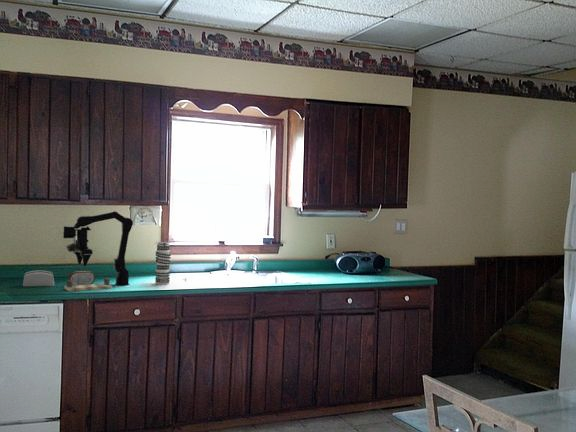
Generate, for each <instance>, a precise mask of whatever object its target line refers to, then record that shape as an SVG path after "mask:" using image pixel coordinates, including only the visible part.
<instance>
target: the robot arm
mask: <svg viewBox="0 0 576 432" xmlns="http://www.w3.org/2000/svg"><path fill="white" fill-rule="evenodd" d="M113 219H115V220H117V221H118V222H120V223H121V237H120V240H119V241H120V243H119V247H118V251H117V252H118V254H117V257H116V258H113V264H112V266H113V269H114V270H115V271H116V272H117V273H116V276H115V285H117V286H129V285H130V283H129V277H130V276H129V275H130V274H129V273H130V272H129V270H128V269H127V268H126V259H125V257H126V252H127V247H128V241H129V235H130V232H131V230H132V227H133V225H134V221H133V219H131V218H130V217H125V216H123V215H122V214H120V213H119V212H117V210H116V211H115V210H114V211H111V212H106V213H101V214H96V215H81V216H78V218H77V219H76V223H74V225H73V226H66V225H65V226H63V233H62V234H63V235H62V237H63V238H62V239H74V238H75V237H76V239H75V240H74V241H75V242H73V243H70V244H67V245H66V249H67V251H68V252H69V253H71V252H72V253H73V254H74V255H75V257H76V259H77V264H78V265H81V264H83V267H86V266H87V264H88V262H89V260H90V258H91V257H92V255H93V254H94V253H93V249H91V248H89V246H88V243H89V239H88V231H91V230H92V228H90V227H89V225H92V224H94V223H97V222H102V221H108V220H113Z"/></svg>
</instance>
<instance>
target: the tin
mask: <svg viewBox="0 0 576 432" xmlns="http://www.w3.org/2000/svg"><path fill="white" fill-rule="evenodd" d="M95 275H96V274H94V272H93V271H90V270H76V271H72V272H71V273H70V274H68V278H67V280H73V283H72V286H74V285H90V284H94V283H95V280H96V276H95Z"/></svg>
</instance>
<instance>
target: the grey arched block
mask: <svg viewBox="0 0 576 432" xmlns="http://www.w3.org/2000/svg"><path fill="white" fill-rule="evenodd" d="M22 286H23V287H53V286H55V279H54V273H53V272H52V271H49V270H48V271H47V270H42V269H41V270H39V269H38V270H37V269H36V270H31V271H27V272H25V273H24V276H23V282H22Z"/></svg>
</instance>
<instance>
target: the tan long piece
mask: <svg viewBox="0 0 576 432" xmlns="http://www.w3.org/2000/svg"><path fill="white" fill-rule="evenodd" d="M103 281H104V282H103V283H92V284H90V285H74V286H73V285H72V283H73V280H68V279H67V280H66V281H65V284H66V285H64V286H63V287H64V288H63V289H64V290H66V291H68V292H79V291H93V290H95V291H96V290H110V289H113V286H112V285H111V284H110V281H111V278H110V277H105V278H103Z"/></svg>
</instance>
